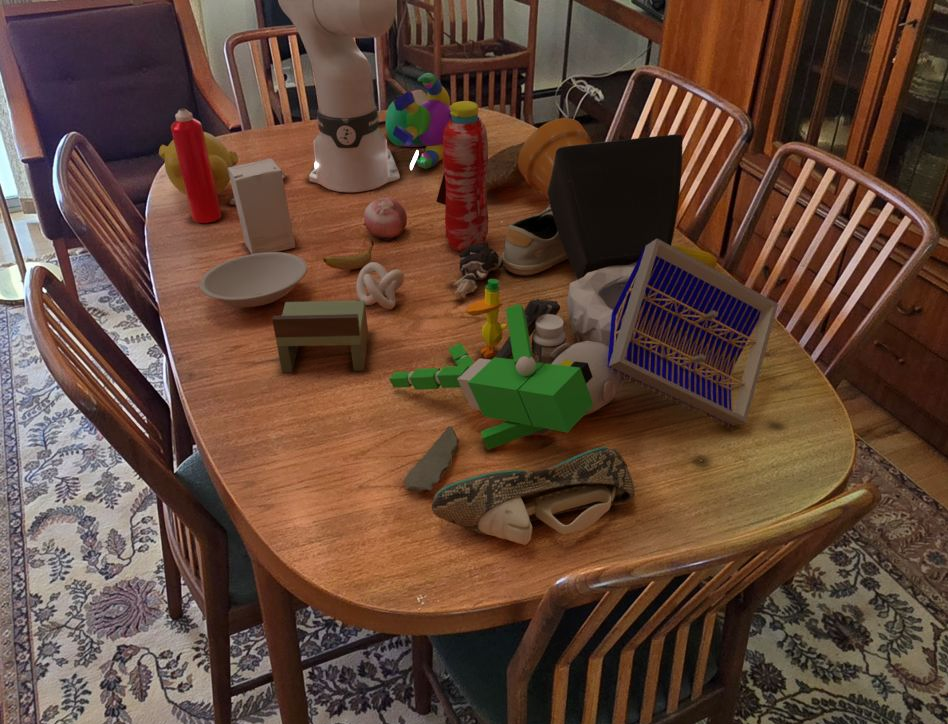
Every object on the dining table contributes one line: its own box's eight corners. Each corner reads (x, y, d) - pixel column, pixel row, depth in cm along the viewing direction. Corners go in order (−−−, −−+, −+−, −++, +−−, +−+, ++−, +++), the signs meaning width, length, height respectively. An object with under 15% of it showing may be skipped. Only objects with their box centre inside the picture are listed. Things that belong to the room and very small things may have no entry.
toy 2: (589, 316, 115) (580, 365, 123) (503, 371, 109) (500, 418, 118) (643, 360, 111) (630, 408, 119) (557, 419, 105) (550, 465, 114)
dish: (288, 269, 149) (283, 242, 146) (327, 303, 140) (323, 276, 137) (192, 300, 142) (184, 273, 138) (227, 338, 133) (220, 310, 130)
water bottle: (425, 237, 158) (417, 96, 141) (460, 226, 161) (457, 86, 145) (463, 262, 151) (460, 116, 134) (499, 249, 154) (500, 105, 137)
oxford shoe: (635, 228, 159) (641, 183, 154) (534, 286, 144) (536, 239, 138) (588, 211, 165) (592, 167, 159) (486, 265, 149) (486, 219, 144)
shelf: (291, 335, 133) (282, 284, 127) (368, 334, 133) (362, 282, 127) (282, 372, 126) (271, 319, 120) (363, 370, 126) (357, 317, 120)
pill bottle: (528, 362, 127) (530, 313, 121) (560, 360, 127) (563, 311, 122) (533, 381, 124) (535, 331, 118) (565, 379, 124) (568, 329, 118)
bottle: (215, 208, 168) (192, 102, 154) (225, 218, 164) (202, 110, 151) (188, 215, 166) (162, 108, 152) (198, 225, 162) (172, 117, 149)
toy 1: (466, 370, 131) (626, 393, 110) (402, 430, 124) (559, 467, 103) (430, 291, 123) (595, 299, 102) (359, 351, 116) (520, 373, 95)
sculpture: (235, 193, 164) (239, 207, 177) (236, 125, 162) (239, 144, 175) (153, 187, 160) (162, 201, 174) (152, 117, 159) (162, 137, 172)
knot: (345, 307, 140) (341, 274, 136) (372, 285, 145) (369, 253, 141) (385, 318, 137) (382, 285, 133) (410, 295, 142) (408, 263, 138)
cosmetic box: (287, 236, 159) (273, 156, 149) (296, 249, 155) (283, 168, 145) (242, 245, 156) (226, 165, 146) (251, 259, 152) (234, 177, 142)
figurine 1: (418, 67, 167) (477, 81, 182) (364, 69, 174) (425, 82, 190) (414, 167, 173) (472, 172, 188) (362, 164, 180) (422, 169, 196)
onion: (367, 246, 156) (363, 208, 151) (362, 227, 161) (358, 190, 156) (410, 241, 157) (408, 204, 152) (404, 223, 162) (402, 186, 158)
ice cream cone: (449, 118, 201) (425, 89, 210) (434, 109, 198) (410, 79, 206) (437, 136, 203) (413, 106, 212) (422, 126, 200) (399, 96, 208)
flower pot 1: (619, 153, 154) (586, 106, 159) (548, 180, 152) (517, 132, 157) (612, 208, 167) (581, 164, 172) (547, 234, 165) (518, 189, 170)
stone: (401, 497, 107) (434, 500, 104) (395, 485, 106) (429, 488, 103) (446, 434, 115) (478, 436, 112) (441, 422, 114) (474, 424, 111)
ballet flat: (431, 472, 95) (459, 540, 90) (625, 428, 102) (661, 489, 97) (426, 515, 102) (452, 580, 97) (608, 470, 109) (641, 529, 104)
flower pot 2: (698, 241, 125) (683, 130, 126) (570, 256, 125) (556, 144, 126) (670, 278, 144) (657, 182, 145) (558, 291, 144) (546, 195, 145)
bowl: (606, 398, 120) (614, 337, 113) (540, 327, 134) (543, 269, 127) (729, 364, 126) (743, 304, 119) (654, 299, 140) (662, 242, 133)
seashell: (513, 152, 183) (547, 118, 169) (530, 192, 184) (566, 162, 170) (438, 175, 175) (468, 141, 161) (457, 217, 176) (488, 187, 162)
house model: (617, 366, 107) (591, 377, 113) (744, 427, 112) (713, 434, 119) (658, 233, 110) (631, 251, 117) (779, 299, 116) (747, 312, 123)
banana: (330, 281, 146) (327, 260, 143) (322, 276, 147) (319, 255, 145) (379, 263, 151) (377, 242, 148) (371, 258, 152) (369, 237, 149)
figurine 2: (485, 304, 139) (514, 255, 148) (466, 270, 135) (497, 223, 145) (450, 313, 143) (481, 266, 152) (431, 280, 139) (464, 234, 149)
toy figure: (473, 366, 126) (472, 293, 118) (462, 354, 129) (460, 282, 121) (512, 353, 129) (514, 281, 121) (500, 342, 131) (501, 270, 123)
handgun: (511, 361, 138) (551, 296, 135) (523, 369, 138) (563, 304, 135) (482, 370, 120) (527, 295, 117) (496, 378, 120) (541, 304, 116)
